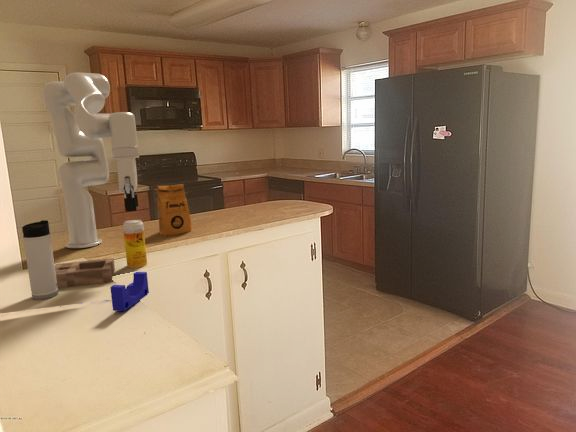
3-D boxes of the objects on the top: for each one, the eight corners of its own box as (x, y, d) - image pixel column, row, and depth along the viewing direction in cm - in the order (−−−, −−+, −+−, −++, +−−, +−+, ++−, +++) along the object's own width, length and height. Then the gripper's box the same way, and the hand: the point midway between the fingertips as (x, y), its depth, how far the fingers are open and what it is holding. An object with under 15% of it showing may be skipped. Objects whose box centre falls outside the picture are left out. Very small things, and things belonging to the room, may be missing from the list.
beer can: (136, 271, 141) (131, 223, 138) (123, 268, 144) (118, 222, 141) (151, 265, 146) (146, 220, 143) (138, 263, 149) (134, 218, 146)
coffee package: (193, 239, 182) (189, 184, 178) (162, 242, 177) (157, 187, 173) (189, 234, 191) (185, 182, 187) (159, 238, 186) (154, 184, 182)
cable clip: (133, 293, 121) (131, 271, 120) (148, 293, 120) (146, 272, 119) (107, 310, 110) (104, 286, 109) (124, 311, 109) (121, 287, 108)
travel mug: (64, 292, 124) (55, 220, 120) (44, 300, 118) (33, 225, 114) (47, 290, 126) (37, 219, 122) (26, 298, 120) (15, 224, 116)
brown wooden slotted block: (57, 276, 138) (55, 264, 137) (115, 270, 142) (113, 258, 142) (47, 289, 127) (46, 275, 126) (110, 282, 131) (109, 268, 130)
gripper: (115, 154, 146) (122, 206, 149) (109, 155, 129) (116, 214, 132) (140, 152, 148) (145, 204, 150) (137, 153, 131) (143, 211, 134)
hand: (132, 208), depth 141 cm, fingers open, 9 cm apart
